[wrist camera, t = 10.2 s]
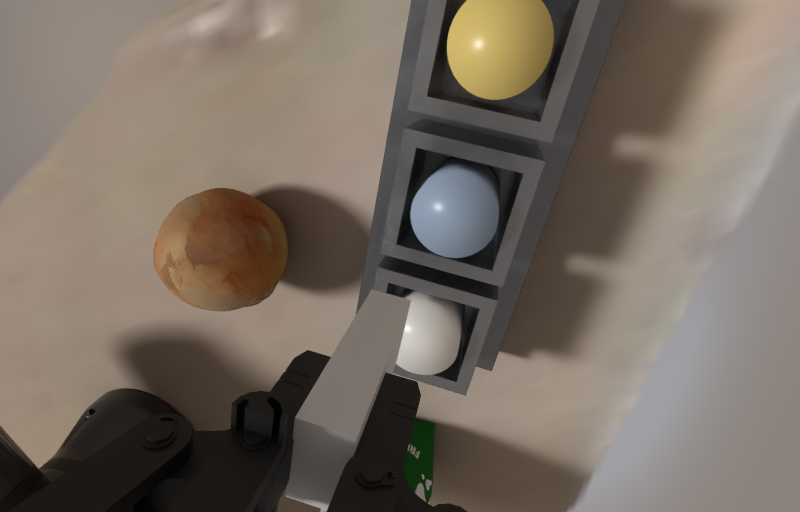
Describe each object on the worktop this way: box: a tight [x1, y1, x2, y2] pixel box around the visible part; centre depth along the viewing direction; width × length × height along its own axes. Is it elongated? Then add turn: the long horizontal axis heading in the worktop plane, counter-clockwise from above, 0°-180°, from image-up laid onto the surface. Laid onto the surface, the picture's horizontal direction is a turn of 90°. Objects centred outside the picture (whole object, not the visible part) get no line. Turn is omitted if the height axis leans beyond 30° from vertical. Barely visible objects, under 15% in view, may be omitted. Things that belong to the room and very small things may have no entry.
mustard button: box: [447, 0, 554, 100], centre depth 23 cm, size 5×5×5 cm
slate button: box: [410, 158, 500, 258], centre depth 27 cm, size 5×5×5 cm
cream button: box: [396, 288, 465, 375], centre depth 31 cm, size 5×5×5 cm
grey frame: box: [356, 0, 626, 396], centre depth 29 cm, size 12×28×8 cm, turn 169°
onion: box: [153, 188, 288, 311], centre depth 34 cm, size 10×10×10 cm
